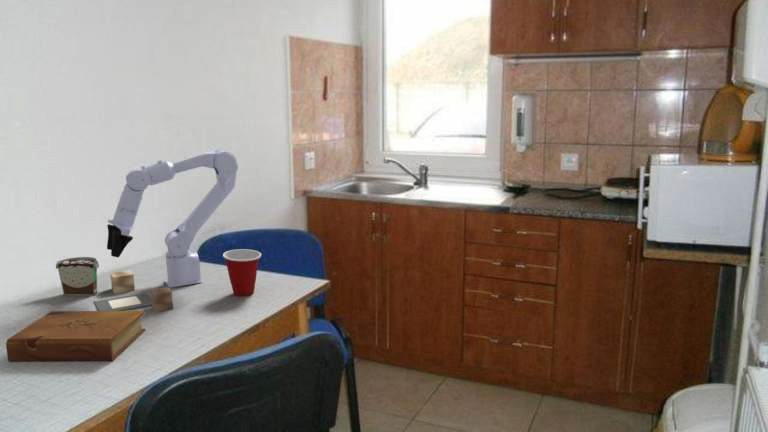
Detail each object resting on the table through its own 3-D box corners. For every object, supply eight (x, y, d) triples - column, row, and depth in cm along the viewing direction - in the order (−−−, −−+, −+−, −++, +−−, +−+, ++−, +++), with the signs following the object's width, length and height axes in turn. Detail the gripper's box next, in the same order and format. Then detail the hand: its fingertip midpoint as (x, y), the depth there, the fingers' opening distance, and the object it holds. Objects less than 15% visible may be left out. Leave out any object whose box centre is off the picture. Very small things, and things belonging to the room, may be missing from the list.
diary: (8, 365, 140) (5, 340, 138) (54, 333, 158) (51, 311, 157) (112, 364, 139) (109, 338, 138) (146, 332, 157) (143, 309, 156)
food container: (110, 289, 191) (106, 256, 189) (99, 295, 185) (95, 262, 183) (71, 288, 192) (67, 256, 190) (58, 294, 186) (54, 261, 184)
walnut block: (169, 304, 176) (167, 287, 175) (173, 309, 172) (171, 291, 171) (152, 307, 174) (150, 290, 173) (155, 312, 170) (154, 294, 169)
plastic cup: (250, 301, 178) (247, 259, 175) (217, 296, 182) (214, 256, 179) (270, 289, 188) (268, 250, 185) (239, 286, 192) (237, 247, 189)
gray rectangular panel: (146, 293, 186) (146, 292, 186) (155, 304, 176) (155, 303, 176) (94, 302, 179) (94, 300, 179) (100, 314, 169) (100, 313, 169)
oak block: (131, 286, 194) (129, 270, 193) (134, 290, 189) (133, 274, 188) (112, 289, 191) (110, 273, 190) (115, 293, 186) (113, 277, 185)
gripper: (109, 200, 190) (95, 243, 190) (117, 210, 178) (102, 256, 178) (133, 206, 194) (119, 249, 194) (143, 217, 182) (127, 262, 182)
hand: (112, 253), depth 186 cm, fingers open, 7 cm apart
